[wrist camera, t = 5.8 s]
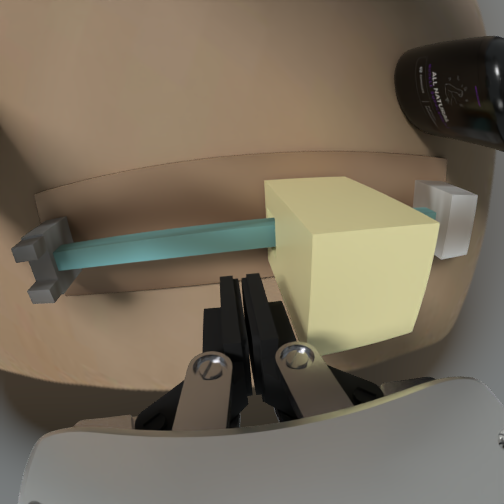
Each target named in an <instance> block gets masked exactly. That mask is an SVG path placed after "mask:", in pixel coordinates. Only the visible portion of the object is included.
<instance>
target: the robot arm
mask: <svg viewBox="0 0 504 504" xmlns="http://www.w3.org/2000/svg"><path fill="white" fill-rule="evenodd" d="M241 281H242V294H243V306H244V313H243V307H242V301H241V294H240V288H239V281H238V278H236V279H233V275H232V276H221V277H220V298H221V307H220V308H209V309H204V319H203V353H201V354H199V355H197V356H195V357H194V358H193V359H192V360H191V361H190V363H189V365H188V368H187V372H186V376H185V380H184V381H182V382H181V383H180V384H179V385H177V386H176V387H175V388H173V389H172V390H171V391H169V392H168V393H167V394H165V395H164V396H163V397H161V398H160V399H159V400H157V401H156V402H154V403H153V404H152V405H150V406H149V407H148V408H146V409H145V410H144V411H142V412H141V413H140V414H139V415H138V416H137V417H132V416H131V415H126V416H118V417H109V418H99V419H87V420H83V421H79V422H78V423H77V424H75V426H74V427H72V428H66V429H60V430H56V431H53V432H50V433H47V434H45V435H44V436H42V437H41V438H40V439H39V440H38V441H37V443H36V444H35V445H34V447H33V449H32V451H31V454H30V456H29V459H28V461H27V465H26V467H25V471H24V475H23V479H22V483H21V488H20V494H19V499H18V504H504V406H503V405H502V403H501V402H500V401H499V400H498V398H497V397H496V396H495V395H494V394H493V392H492V391H491V390H490V389H489V388H488V387H487V386H486V385H485V384H483V383H482V382H481V381H479V380H478V379H475V378H472V377H461V376H460V377H447V378H442V379H437V380H436V379H434V378H431V377H422V378H416V379H410V380H403V381H395V382H386V383H383V384H382V386H377V385H376V384H374V383H372V382H369V381H367V380H364V379H361V378H358V377H356V376H353V375H351V374H348V373H346V372H343V371H341V370H338V369H336V368H333V367H331V366H328V365H327V364H326V363H325V361H324V360H323V358H322V357H321V355H320V354H319V352H318V351H317V350H316V349H315V348H314V347H313V346H312V345H310V344H308V343H305V342H297V341H296V338H295V335H294V333H293V330H292V327H291V324H290V322H289V319H288V316H287V314H286V311H285V308H284V305H283V303H282V301H276V302H268V301H267V297H266V294H265V290H264V287H263V284H262V280H261V277H260V274H259V273H252V274H246V278H241ZM244 318H245V320H244ZM249 355H250V359H249ZM250 361H251V367H252V373H253V379H254V385H255V391H256V395H260V394H262V399H263V402H266V403H267V404H269V405H271V406H273V407H274V409H275V413H276V415H277V418H278V420H279V422H280V423H274V424H267V425H259V426H252V427H242V428H240V412H241V411H242V410H243V409H244V408H245V407H246V406H247V405H248V398H247V396H251V395H252V383H251V371H250Z"/></svg>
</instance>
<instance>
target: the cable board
mask: <svg viewBox="0 0 504 504" xmlns="http://www.w3.org/2000/svg"><path fill="white" fill-rule="evenodd" d="M446 172H447V159H446V158H439V157H430V156H421V155H410V154H397V153H380V152H355V151H303V152H277V153H259V154H246V155H234V156H223V157H214V158H205V159H197V160H189V161H182V162H175V163H168V164H162V165H156V166H150V167H144V168H139V169H133V170H128V171H123V172H118V173H113V174H109V175H104V176H100V177H95V178H91V179H87V180H83V181H79V182H75V183H71V184H67V185H64V186H60V187H56V188H53V189H49V190H46V191H43V192H39V193H36V194H34V197H35V202H36V206H37V210H38V214H39V218H40V222H41V224H40V225H39V226H37V227H36V228H34V229H33V230H32V231H30V232H29V233H27V234H26V235H25V236H23V237H22V238H21V240H22V241H20V242H19V243H18V244H16V245H15V246H14V247H13V248H11V250H12V253H13V256H14V258H15V261H16V263H18V262H25V261H29V264H30V266H31V269H32V272H33V274H34V277H35V279H36V282H35V283H34V284H33V285H32V287H31V288H30V289H29V290H28V291H27V292H28V294H29V296H30V298H31V301H32V303H33V304H39V303H55V302H56V301H57V299H58V298H59V297H60V295H61V294H64V293H65V296H73V295H87V294H101V293H114V292H127V291H138V290H150V289H161V288H171V287H182V286H192V285H201V284H211V283H220V277H221V276H232V275H233V279H236V278H238V280H241V278H246V274H252V273H259V274H260V277H261V278H264V277H272V276H274V274H273V271H272V268H271V266H270V263H269V261H268V247H276V236H275V218H266V205H265V187H264V180H278V179H294V178H314V177H347V178H350V179H352V180H354V181H357V182H359V183H361V184H363V185H366V186H368V187H370V188H372V189H374V190H377V191H379V192H381V193H383V194H385V195H387V196H389V197H391V198H393V199H395V200H398V201H400V202H402V203H404V204H406V205H407V206H409V207H411V208H413V209H415V210H417V211H419V212H421V213H423V214H425V215H427V216H428V217H430V218H432V219H434V220H436V221H437V222H439V223H440V226H439V232H438V237H437V243H436V248H435V252H434V255H436V256H437V257H438V258H440V259H446V258H451V257H456V256H461V255H466V254H467V251H468V247H469V242H470V238H471V233H472V228H473V223H474V217H475V211H476V205H477V198H478V195H476V194H474V193H471V192H469V191H467V190H464V189H462V188H459V187H456V186H454V185H451V184H449V183H446Z"/></svg>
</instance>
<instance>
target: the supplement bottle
mask: <svg viewBox="0 0 504 504" xmlns="http://www.w3.org/2000/svg"><path fill="white" fill-rule="evenodd" d="M394 83H395V90H396V94H397V98H398V101H399V103H400V106H401V108H402V110H403V111H404V113H405V115H406V116H407V117H408V119H409V120H410V121H411V122H412V123H413V124H414V125H415V126H416V127H417V128H418V129H420V130H421V131H423V132H425V133H428V134H431V135H435V136H440V137H445V138H450V139H455V140H460V141H464V142H469V143H473V144H477V145H481V146H485V147H489V148H492V149H496V150H499V151H503V152H504V38H502V37H499V36H484V37H474V38H466V39H458V40H452V41H446V42H440V43H435V44H430V45H425V46H421V47H417V48H413V49H411V50H408V51H407V52H405V53H404V54H403V55H402V56H401V57H400V59H399V60H398V63H397V65H396V68H395V75H394Z"/></svg>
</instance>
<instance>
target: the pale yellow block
mask: <svg viewBox="0 0 504 504" xmlns="http://www.w3.org/2000/svg"><path fill="white" fill-rule="evenodd" d="M264 187H265V205H266V218H275V236H276V247H268V261H269V263H270V266H271V268H272V271H273V274H274V276H275V279H276V282H277V284H278V287H279V289H280V292H281V295H282V297H283V300H284V303H285V305H286V308H287V311H288V313H289V316H290V319H291V321H292V324H293V327H294V329H295V332H296V335H297V337H298V340H299V342H305V343H308V344H310V345H312V346H313V347H314V348H315V349H316V350H317V351H318V352H319V354H320V355H321V356H322V355H327V354H332V353H336V352H341V351H345V350H349V349H353V348H357V347H361V346H365V345H369V344H373V343H376V342H380V341H384V340H387V339H391V338H394V337H397V336H401V335H404V334H407V333H410V332H412V330H413V328H414V325H415V322H416V319H417V316H418V313H419V309H420V306H421V303H422V300H423V296H424V293H425V289H426V286H427V282H428V278H429V274H430V270H431V266H432V261H433V257H434V252H435V248H436V243H437V237H438V232H439V226H440V223H439V222H437V221H436V220H434V219H432V218H430V217H428V216H427V215H425V214H423V213H421V212H419V211H417V210H415V209H413V208H411V207H409V206H407V205H406V204H404V203H402V202H400V201H398V200H395V199H393V198H391V197H389V196H387V195H385V194H383V193H381V192H379V191H377V190H374V189H372V188H370V187H368V186H366V185H363V184H361V183H359V182H357V181H354V180H352V179H350V178H347V177H314V178H294V179H278V180H264Z"/></svg>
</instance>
